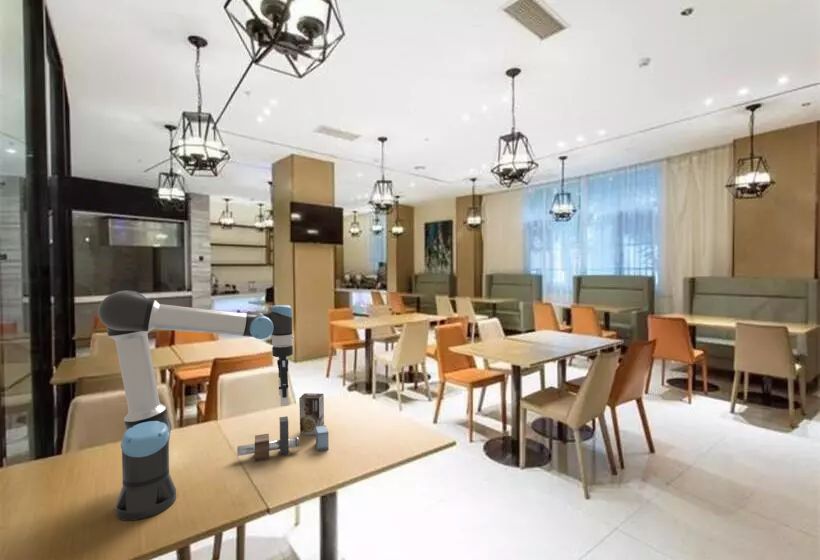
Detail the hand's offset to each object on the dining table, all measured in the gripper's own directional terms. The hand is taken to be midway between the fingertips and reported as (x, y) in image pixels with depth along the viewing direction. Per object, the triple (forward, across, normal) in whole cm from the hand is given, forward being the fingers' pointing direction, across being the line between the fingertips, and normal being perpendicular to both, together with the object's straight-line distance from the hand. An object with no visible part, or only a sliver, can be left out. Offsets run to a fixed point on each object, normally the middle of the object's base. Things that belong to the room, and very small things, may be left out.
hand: (283, 399), depth 150 cm
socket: (+21, 0, -14) cm, 25 cm away
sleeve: (+21, 0, +8) cm, 22 cm away
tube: (+20, 0, +6) cm, 21 cm away
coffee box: (+21, +16, -12) cm, 29 cm away
